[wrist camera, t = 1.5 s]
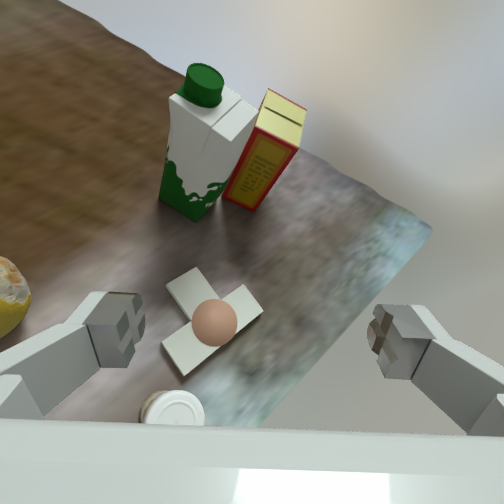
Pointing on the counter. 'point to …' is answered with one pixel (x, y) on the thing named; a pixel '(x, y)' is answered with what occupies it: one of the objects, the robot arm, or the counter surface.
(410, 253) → the counter surface
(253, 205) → the baking soda box
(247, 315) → the tee board
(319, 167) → the counter surface
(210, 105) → the milk carton
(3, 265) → the fruit
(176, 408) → the sprinkles bottle
